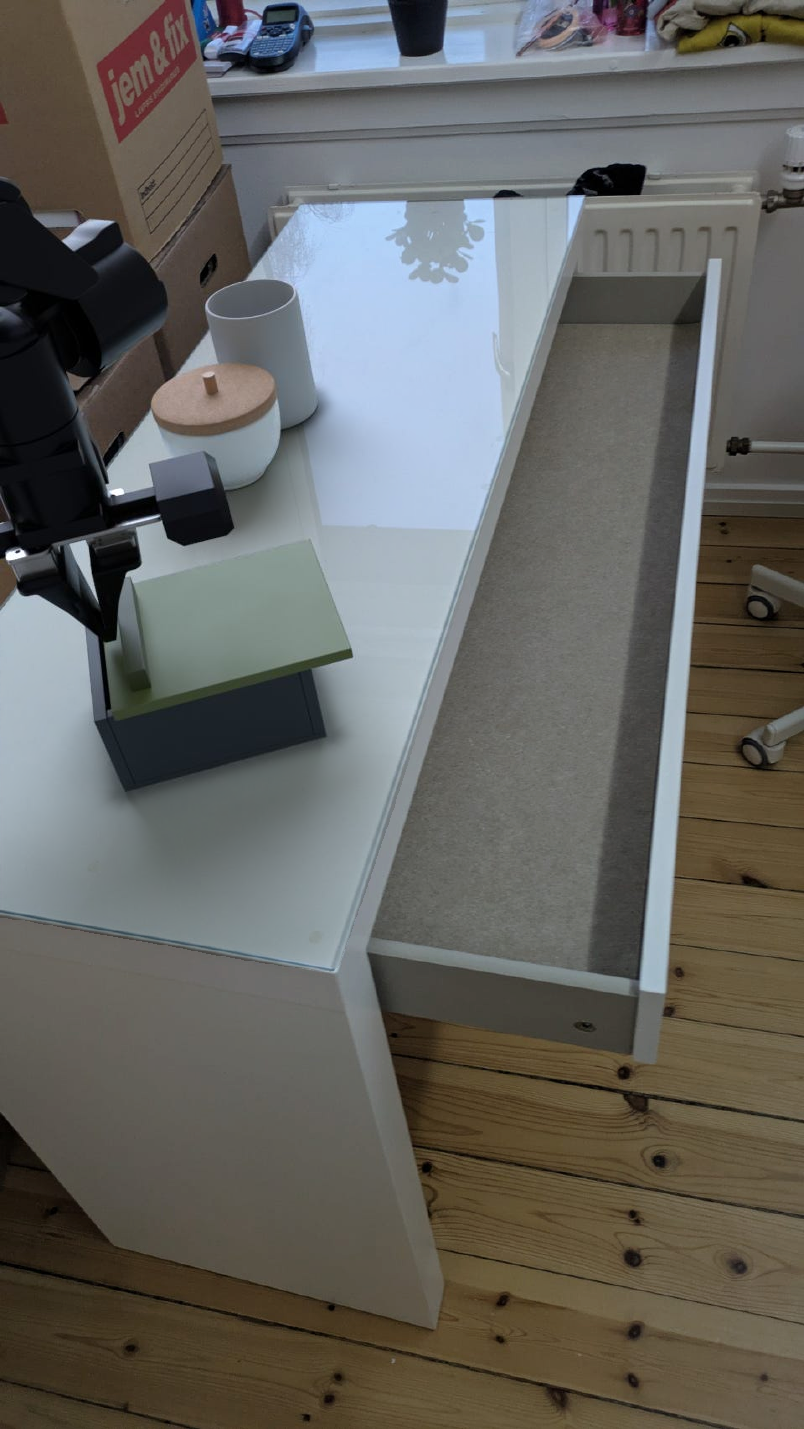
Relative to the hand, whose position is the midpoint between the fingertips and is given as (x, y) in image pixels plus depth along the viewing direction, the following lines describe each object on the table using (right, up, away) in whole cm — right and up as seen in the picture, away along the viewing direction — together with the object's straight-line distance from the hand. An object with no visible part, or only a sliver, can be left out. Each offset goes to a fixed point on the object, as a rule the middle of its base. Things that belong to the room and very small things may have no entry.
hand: (110, 637), depth 70 cm
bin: (+6, -4, +6) cm, 9 cm away
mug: (+6, +26, +37) cm, 45 cm away
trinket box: (+3, +17, +28) cm, 33 cm away
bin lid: (+7, +1, +2) cm, 7 cm away
